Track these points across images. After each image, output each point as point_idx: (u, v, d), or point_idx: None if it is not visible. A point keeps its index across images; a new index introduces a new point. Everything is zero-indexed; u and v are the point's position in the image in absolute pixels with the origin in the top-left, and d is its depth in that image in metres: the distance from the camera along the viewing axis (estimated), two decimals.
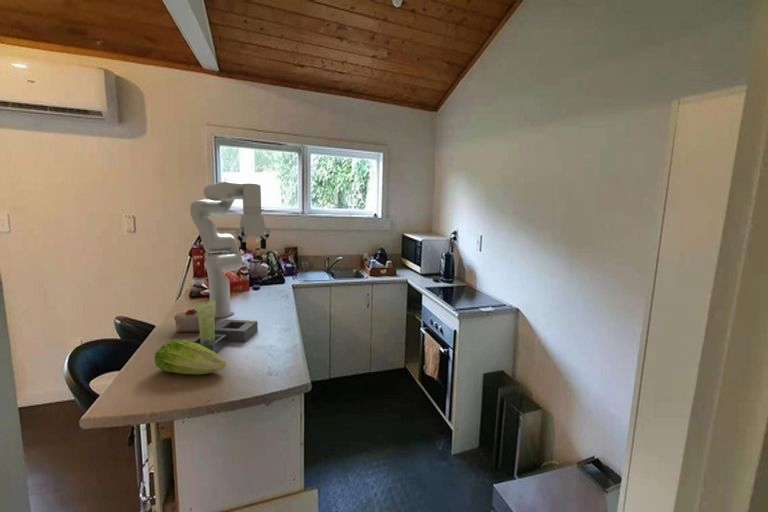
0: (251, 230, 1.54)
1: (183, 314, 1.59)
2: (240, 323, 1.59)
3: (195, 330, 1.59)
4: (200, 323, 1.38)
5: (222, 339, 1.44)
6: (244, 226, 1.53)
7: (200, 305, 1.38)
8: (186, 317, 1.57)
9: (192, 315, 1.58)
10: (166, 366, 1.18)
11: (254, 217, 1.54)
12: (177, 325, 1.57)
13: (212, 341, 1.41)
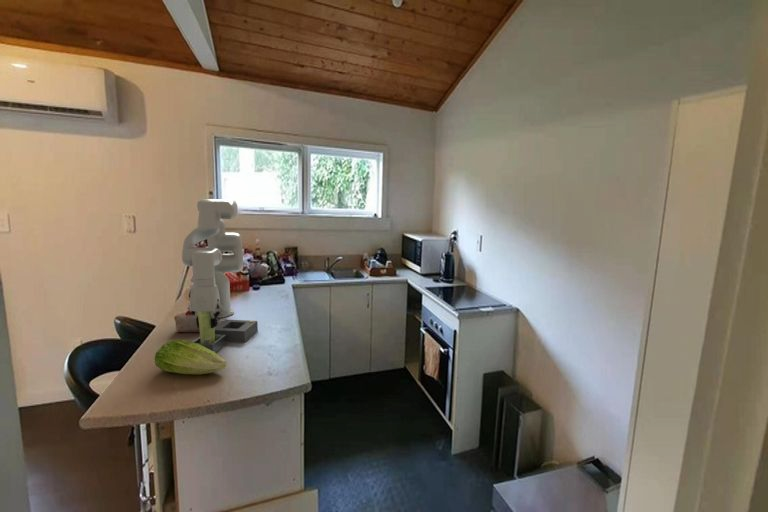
0: None
1: (183, 314, 1.58)
2: (240, 323, 1.59)
3: (195, 330, 1.58)
4: (200, 323, 1.38)
5: (222, 339, 1.44)
6: (219, 297, 1.40)
7: None
8: (186, 317, 1.57)
9: (192, 315, 1.58)
10: (166, 366, 1.18)
11: None
12: (177, 325, 1.57)
13: (212, 341, 1.41)
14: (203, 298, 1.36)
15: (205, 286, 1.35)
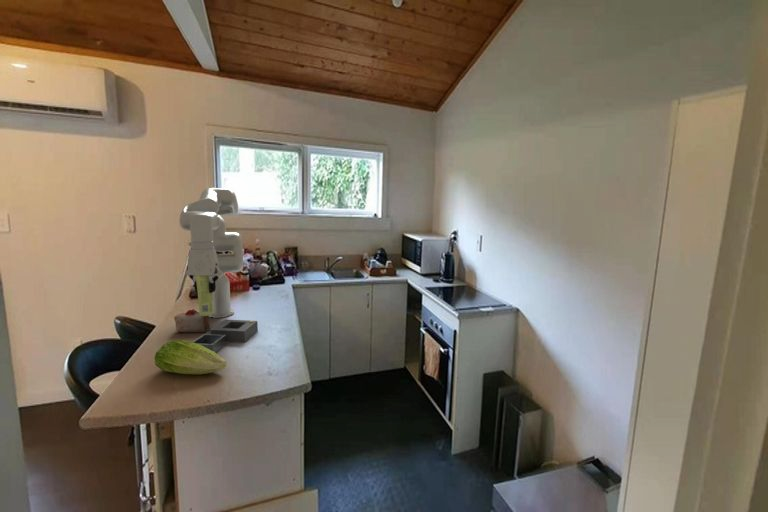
0: None
1: (183, 314, 1.58)
2: (240, 323, 1.59)
3: (195, 330, 1.58)
4: (198, 287, 1.36)
5: (222, 339, 1.44)
6: (217, 262, 1.38)
7: None
8: (186, 317, 1.57)
9: (192, 315, 1.58)
10: (166, 366, 1.18)
11: None
12: (177, 326, 1.57)
13: (210, 306, 1.39)
14: (201, 262, 1.34)
15: (203, 249, 1.33)
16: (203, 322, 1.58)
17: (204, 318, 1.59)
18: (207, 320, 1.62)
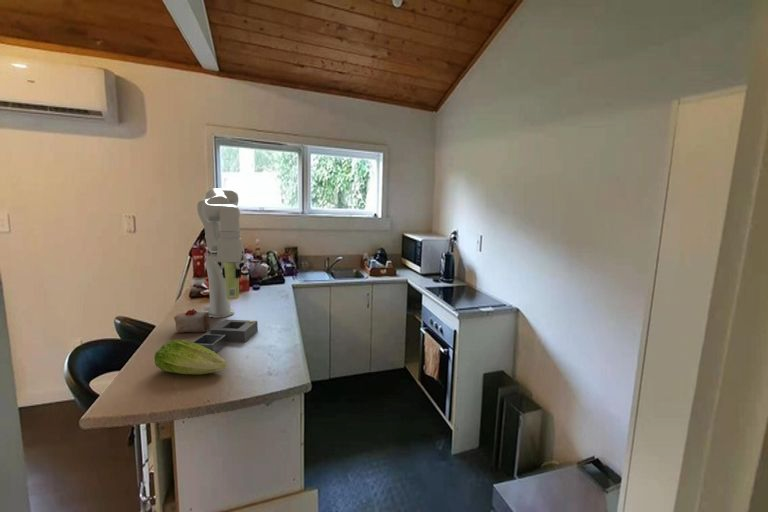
0: None
1: (183, 315, 1.58)
2: (240, 323, 1.59)
3: (195, 330, 1.58)
4: (226, 273, 1.49)
5: (222, 339, 1.44)
6: (243, 250, 1.51)
7: None
8: (186, 317, 1.57)
9: (192, 315, 1.58)
10: (166, 366, 1.18)
11: None
12: (177, 326, 1.57)
13: (237, 291, 1.52)
14: (229, 249, 1.47)
15: (231, 238, 1.46)
16: (203, 322, 1.58)
17: (204, 318, 1.59)
18: (207, 320, 1.62)
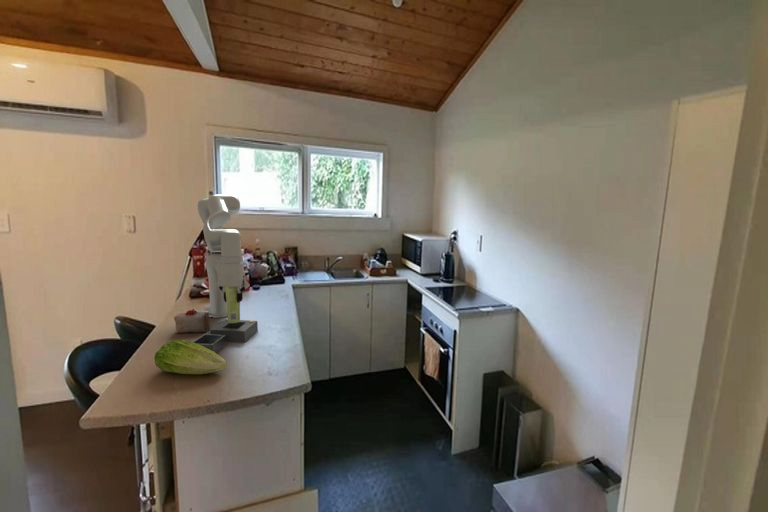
0: None
1: (183, 315, 1.58)
2: (240, 323, 1.59)
3: (196, 330, 1.58)
4: (227, 297, 1.51)
5: (222, 339, 1.44)
6: (244, 274, 1.53)
7: None
8: (186, 318, 1.57)
9: (192, 315, 1.58)
10: (166, 366, 1.18)
11: None
12: (177, 326, 1.56)
13: (238, 314, 1.54)
14: (230, 274, 1.49)
15: (232, 263, 1.48)
16: (203, 322, 1.58)
17: (204, 318, 1.59)
18: (207, 320, 1.62)
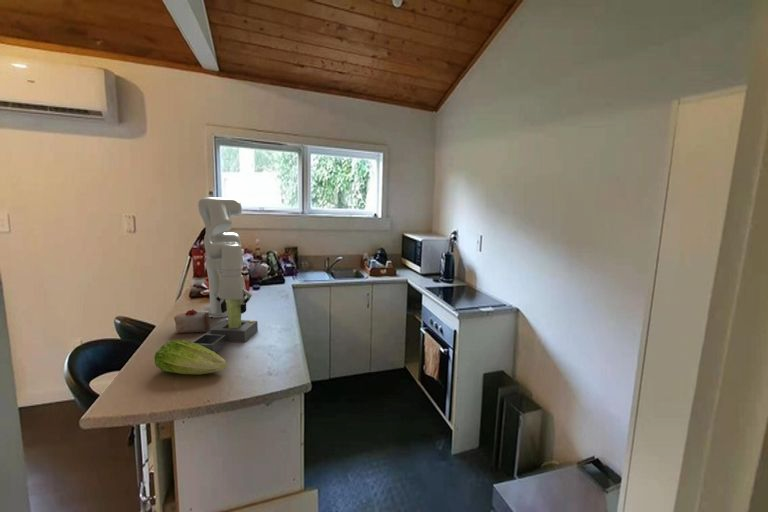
0: None
1: (183, 315, 1.58)
2: None
3: (196, 331, 1.58)
4: (229, 312, 1.52)
5: (222, 339, 1.44)
6: None
7: None
8: (186, 318, 1.57)
9: (192, 316, 1.58)
10: (166, 366, 1.18)
11: None
12: (177, 326, 1.56)
13: None
14: (231, 287, 1.50)
15: (233, 276, 1.49)
16: (204, 322, 1.58)
17: (204, 318, 1.59)
18: (207, 320, 1.62)
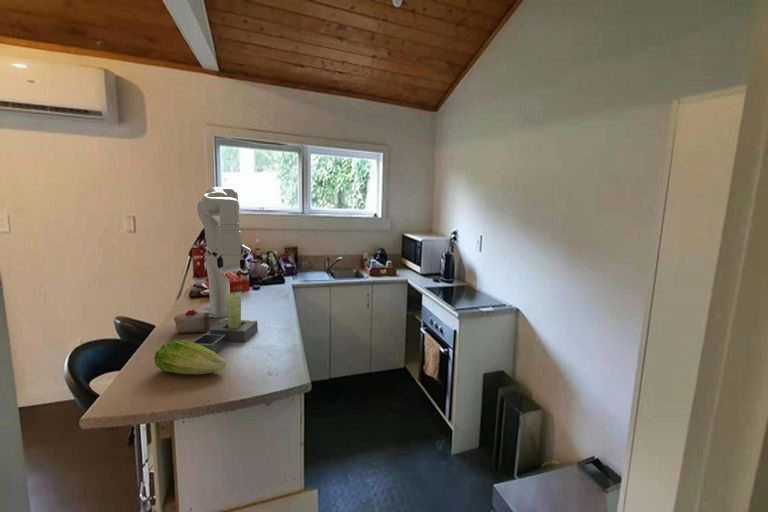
0: None
1: (183, 315, 1.58)
2: None
3: (196, 331, 1.58)
4: (228, 312, 1.52)
5: (222, 339, 1.44)
6: None
7: (228, 296, 1.52)
8: (187, 318, 1.56)
9: (193, 316, 1.57)
10: (166, 366, 1.18)
11: None
12: (177, 326, 1.56)
13: None
14: (229, 242, 1.47)
15: (231, 231, 1.46)
16: (204, 322, 1.58)
17: (205, 318, 1.59)
18: (207, 320, 1.62)
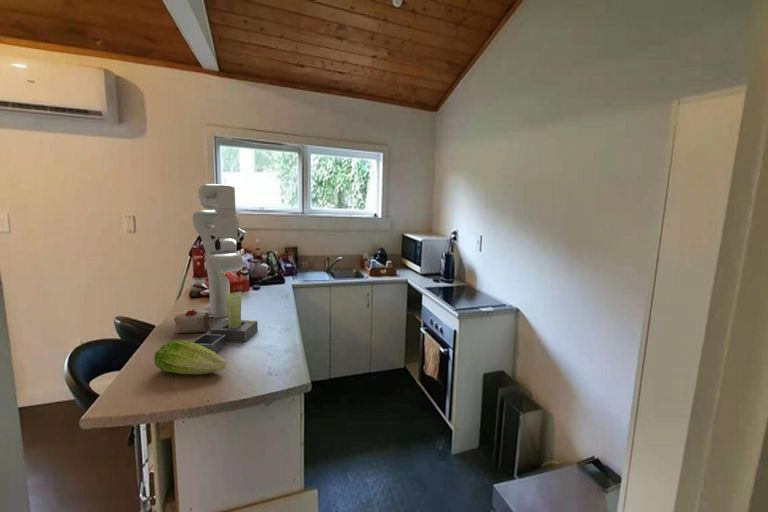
0: None
1: (183, 315, 1.57)
2: None
3: (196, 331, 1.58)
4: (229, 312, 1.52)
5: (222, 339, 1.44)
6: (239, 227, 1.61)
7: (229, 296, 1.52)
8: (187, 318, 1.56)
9: (193, 316, 1.57)
10: (166, 366, 1.18)
11: None
12: (177, 326, 1.56)
13: None
14: (226, 225, 1.58)
15: (227, 215, 1.56)
16: (204, 322, 1.58)
17: (205, 318, 1.59)
18: (207, 320, 1.62)
